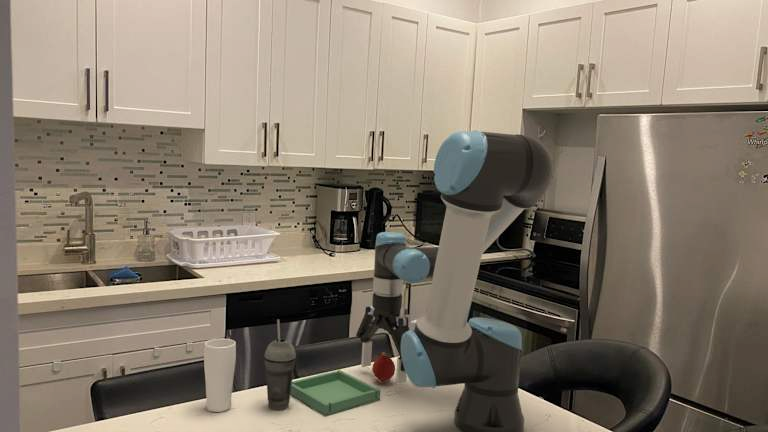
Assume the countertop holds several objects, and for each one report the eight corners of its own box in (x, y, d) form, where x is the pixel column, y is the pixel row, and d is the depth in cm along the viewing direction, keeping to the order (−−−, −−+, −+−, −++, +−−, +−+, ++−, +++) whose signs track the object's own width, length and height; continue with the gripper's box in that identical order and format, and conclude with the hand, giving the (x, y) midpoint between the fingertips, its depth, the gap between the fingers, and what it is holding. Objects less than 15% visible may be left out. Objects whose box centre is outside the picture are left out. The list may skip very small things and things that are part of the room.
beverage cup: (275, 416, 132) (278, 327, 130) (255, 405, 137) (258, 319, 135) (301, 407, 137) (304, 321, 135) (281, 397, 142) (284, 314, 140)
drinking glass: (217, 417, 130) (219, 349, 129) (196, 408, 134) (197, 343, 132) (240, 407, 136) (242, 342, 134) (219, 399, 139) (221, 336, 138)
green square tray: (379, 399, 144) (380, 389, 144) (325, 416, 133) (325, 405, 133) (339, 379, 156) (339, 370, 156) (286, 392, 145) (286, 382, 145)
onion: (395, 379, 158) (396, 349, 157) (393, 387, 152) (394, 356, 151) (373, 377, 158) (374, 348, 157) (370, 385, 152) (371, 355, 152)
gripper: (433, 302, 146) (427, 386, 148) (367, 281, 165) (363, 357, 167) (411, 306, 141) (405, 393, 143) (345, 284, 160) (341, 362, 162)
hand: (382, 374), depth 155 cm, fingers open, 13 cm apart
